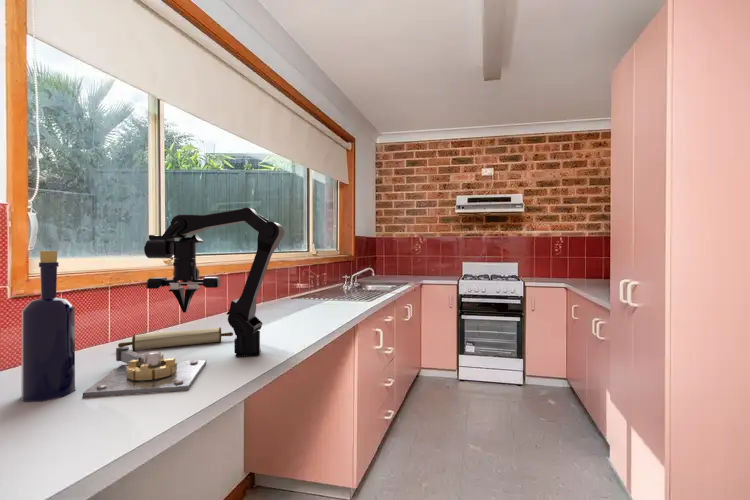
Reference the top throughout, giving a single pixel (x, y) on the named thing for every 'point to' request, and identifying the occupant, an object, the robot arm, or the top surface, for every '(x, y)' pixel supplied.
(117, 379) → the flange plate
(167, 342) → the rolling pin
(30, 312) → the bottle
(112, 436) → the top surface
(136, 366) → the lever handle
